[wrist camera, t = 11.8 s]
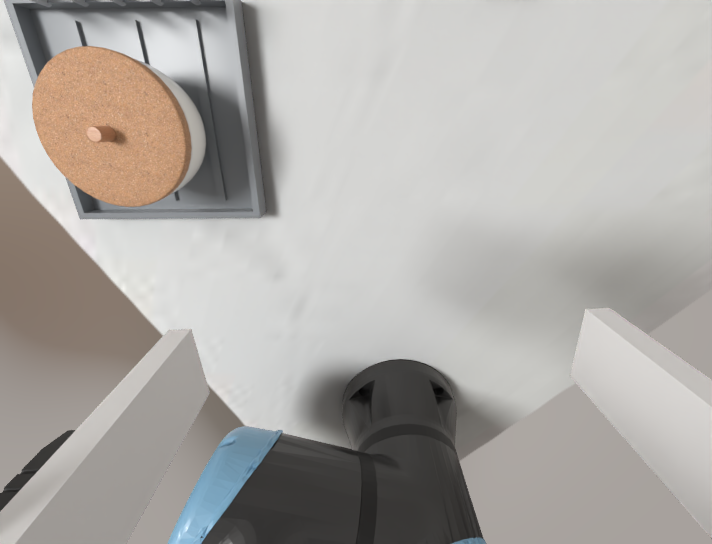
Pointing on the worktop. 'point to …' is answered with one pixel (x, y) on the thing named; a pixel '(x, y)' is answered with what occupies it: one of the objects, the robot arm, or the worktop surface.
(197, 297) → the worktop surface
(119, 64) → the lidded jar
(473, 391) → the worktop surface
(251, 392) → the worktop surface
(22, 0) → the dish rack
